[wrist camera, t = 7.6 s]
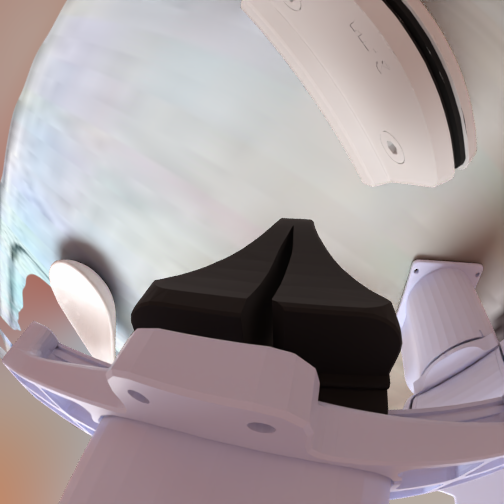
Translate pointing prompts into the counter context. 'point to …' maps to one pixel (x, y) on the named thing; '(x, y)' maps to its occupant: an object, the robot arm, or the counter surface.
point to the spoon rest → (86, 306)
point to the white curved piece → (378, 83)
